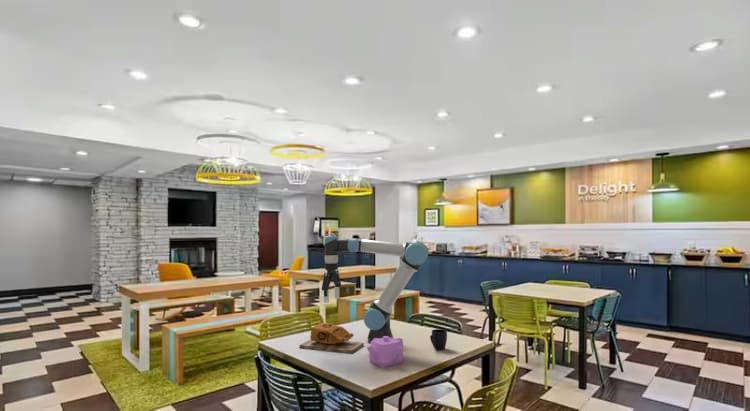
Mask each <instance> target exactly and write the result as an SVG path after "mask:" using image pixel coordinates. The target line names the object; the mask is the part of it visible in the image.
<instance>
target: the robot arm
mask: <svg viewBox="0 0 750 411" xmlns="http://www.w3.org/2000/svg"><path fill="white" fill-rule="evenodd" d="M357 252H359V253H369V254H370V253H371V254H376V255H377V254H378V255H385V256H391V257H393V256H394V257H401V258H400V265H399V266H398V268H397V269H396V271H395V272H394V274H393V275H392V276H391V279H390V281H389V282H388V283H387V285H386V286H385V288H384V289H383V291H382V292H381V294H380V296H379V297H378V299H374V301H370V303H369V308H368V310H366V311H365V313H364V316H363V323H364V325H365V326H366V328H368V329H369V332H368V336H367V343H369V344H371V341H372V340H373V338H378V339H380V338H383V336H389V337H391V338H394V335H393V332H392V329H391V314H392V312H393V311H392V307H393V306H394V304H395V303H396V301H397V299H398V298H399V296H400V295H401V294H402V292H403V290H404V289H405V288H406V286H407V284H408V282H409V281H410V279H411V278H412V276H413V275H414V274H415V273H416V272H419V271H420V269H421V267H422V266H423V264H424V263H425V261H427V259H428V257H429V249H428V247H427V245H425V243H423V242H419V241H418V242H404V243H401V242H400V243H399V242H391V241H383V240H381V241H380V240H375V239H374V240H372V239H365V238H364V239H363V238H362V239H361V238H357V237H356V238H355V237H352V238H339V237H338V235H326V236H325V237H324V257H323V258H324V270H326V272H324V271H323V272H324V274H323V280H322V284H321V291H323V303H325V304H327V303H330V291H329V287H330V284H331V282H333V283H334V284H333V285H334V299H340V288H341V287H342V283H341V277H340V274H339V271H340V270H339V263H338V262H339V253H357Z"/></svg>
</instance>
